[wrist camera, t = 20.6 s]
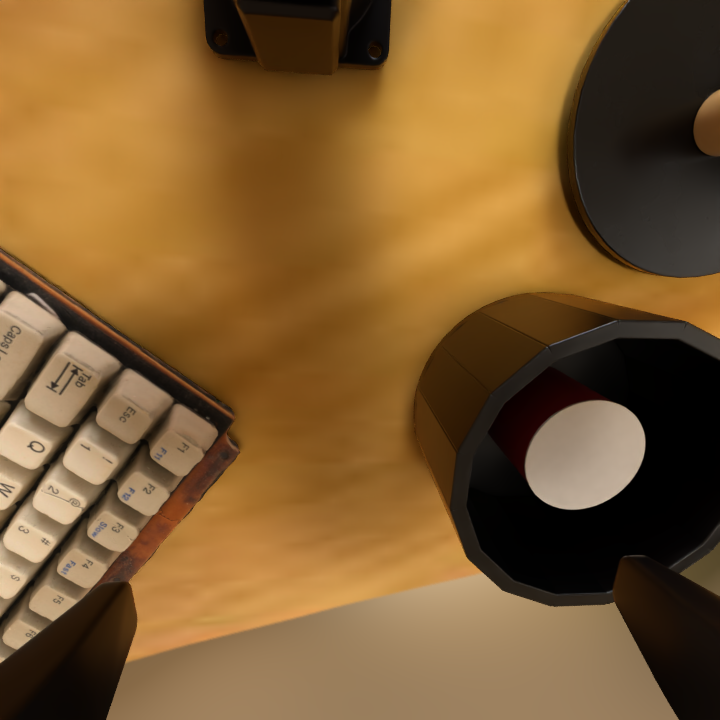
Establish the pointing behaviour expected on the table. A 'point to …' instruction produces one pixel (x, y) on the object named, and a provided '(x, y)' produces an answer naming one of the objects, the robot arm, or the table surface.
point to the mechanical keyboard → (88, 453)
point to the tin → (606, 377)
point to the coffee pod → (569, 441)
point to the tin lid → (652, 137)
